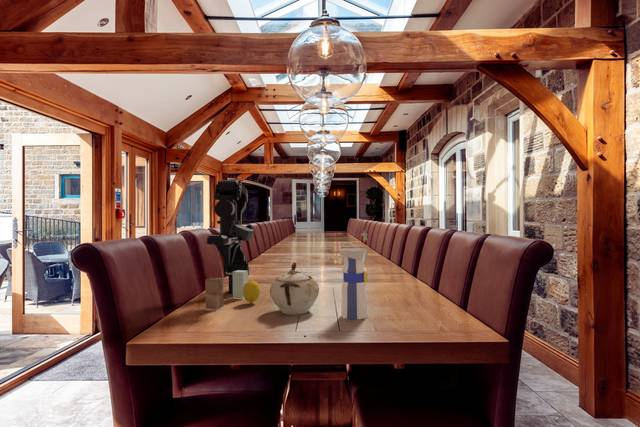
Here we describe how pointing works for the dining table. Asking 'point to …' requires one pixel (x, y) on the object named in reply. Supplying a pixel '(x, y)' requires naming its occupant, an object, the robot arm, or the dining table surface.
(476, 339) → the dining table surface
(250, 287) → the lemon
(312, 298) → the sugar bowl
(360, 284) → the white blue cross vase
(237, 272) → the sage block
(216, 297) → the beige rectangular block
